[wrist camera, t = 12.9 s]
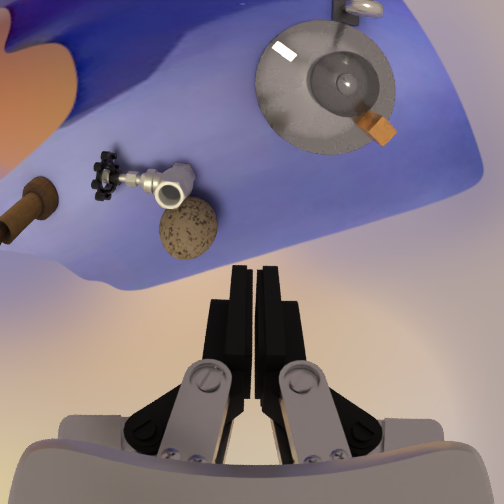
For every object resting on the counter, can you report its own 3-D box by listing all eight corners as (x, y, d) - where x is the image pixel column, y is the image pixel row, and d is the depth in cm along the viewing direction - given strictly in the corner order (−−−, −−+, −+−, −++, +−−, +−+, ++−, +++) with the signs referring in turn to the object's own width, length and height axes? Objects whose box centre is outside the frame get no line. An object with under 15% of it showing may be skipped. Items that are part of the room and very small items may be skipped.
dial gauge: (329, -7, 22) (352, -27, 15) (358, -1, 23) (388, -17, 15) (328, 21, 25) (352, 8, 18) (358, 27, 25) (388, 17, 18)
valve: (200, 152, 35) (113, 144, 34) (190, 170, 29) (89, 159, 28) (194, 199, 39) (113, 188, 37) (185, 224, 33) (92, 210, 32)
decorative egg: (211, 239, 42) (201, 285, 34) (164, 224, 41) (143, 267, 32) (227, 196, 38) (220, 236, 30) (176, 179, 37) (154, 215, 29)
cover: (292, 80, 27) (298, 81, 23) (337, 40, 24) (349, 37, 20) (337, 124, 30) (348, 132, 26) (379, 86, 27) (395, 90, 23)
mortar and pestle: (24, 183, 36) (-47, 245, 21) (49, 171, 35) (-29, 235, 20) (39, 217, 39) (-23, 286, 25) (64, 208, 39) (-2, 282, 24)
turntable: (226, 96, 29) (221, 100, 25) (314, -3, 22) (325, -15, 17) (332, 176, 35) (344, 194, 30) (413, 88, 27) (436, 94, 23)
